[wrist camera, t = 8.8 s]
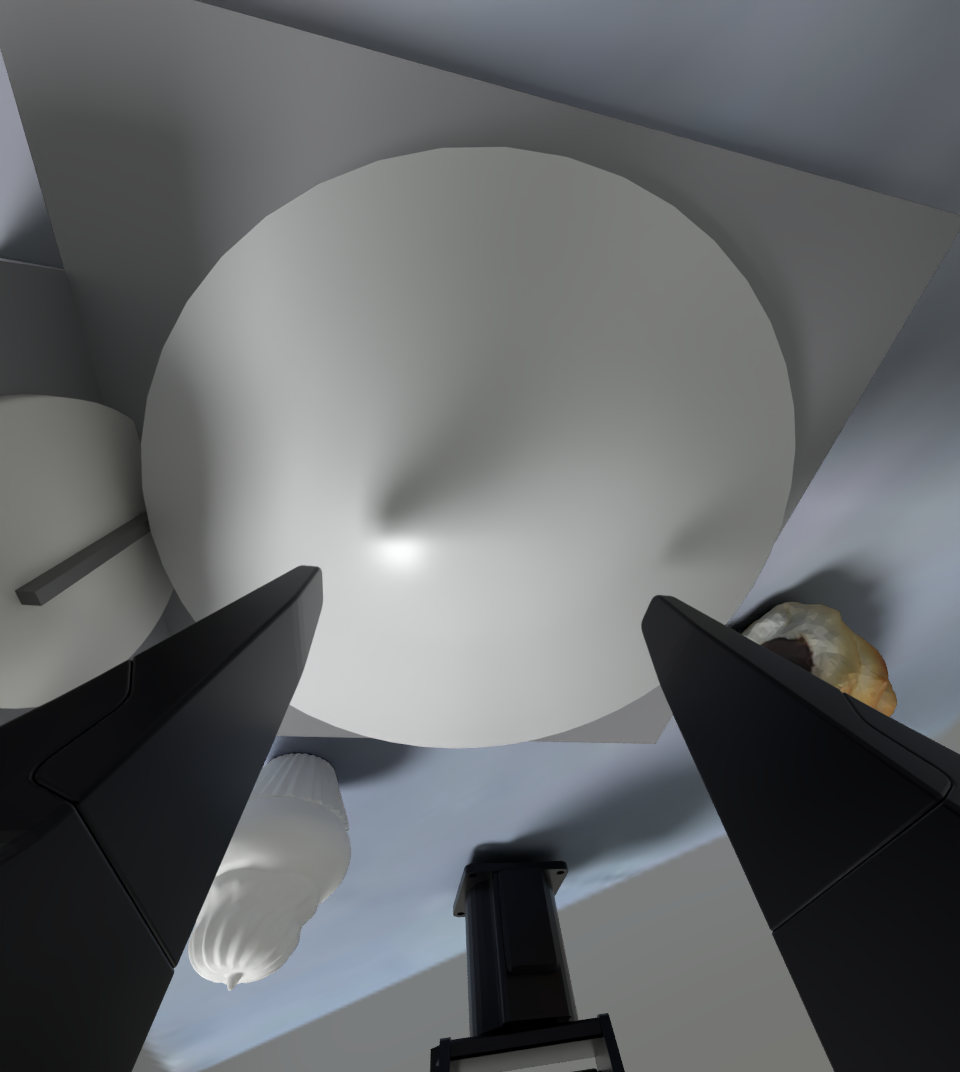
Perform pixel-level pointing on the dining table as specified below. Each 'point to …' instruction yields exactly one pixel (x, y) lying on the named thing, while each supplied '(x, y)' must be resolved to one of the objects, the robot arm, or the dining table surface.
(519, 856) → the dining table surface
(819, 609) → the pastry
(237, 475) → the scale
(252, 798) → the garlic bulb
